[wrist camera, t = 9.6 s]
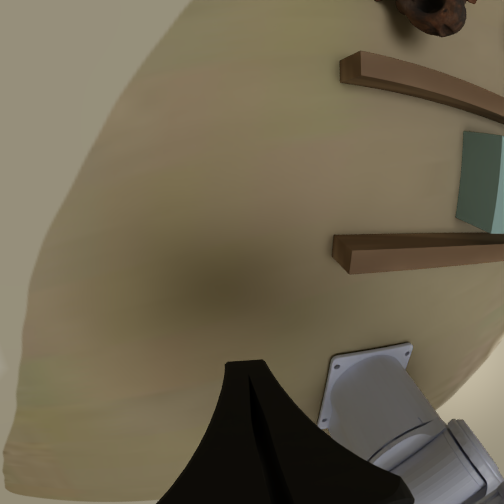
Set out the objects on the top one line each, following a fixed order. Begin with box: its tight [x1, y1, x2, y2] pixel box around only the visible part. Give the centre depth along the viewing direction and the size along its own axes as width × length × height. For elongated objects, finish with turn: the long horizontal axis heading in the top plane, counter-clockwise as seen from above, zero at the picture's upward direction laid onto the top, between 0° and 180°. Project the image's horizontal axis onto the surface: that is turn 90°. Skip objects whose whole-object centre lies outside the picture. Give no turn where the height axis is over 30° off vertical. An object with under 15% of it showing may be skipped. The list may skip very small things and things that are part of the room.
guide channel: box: [332, 51, 504, 274], centre depth 19 cm, size 13×22×3 cm, turn 90°
